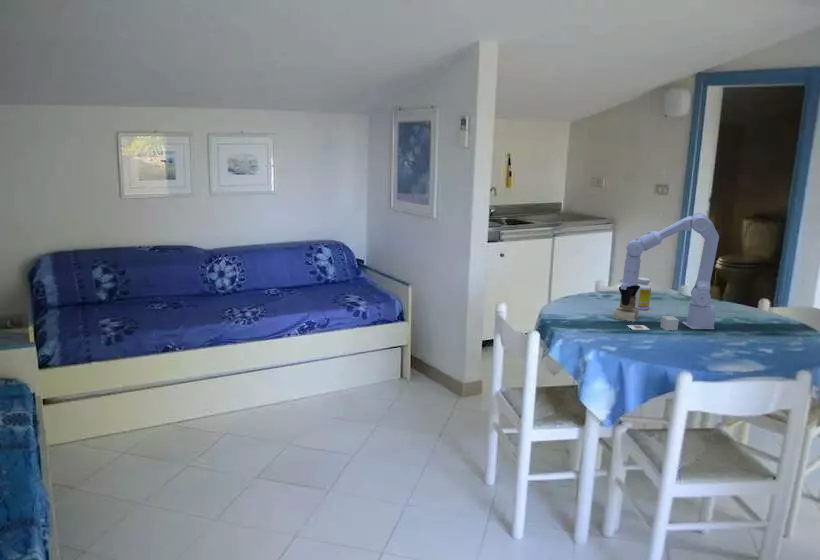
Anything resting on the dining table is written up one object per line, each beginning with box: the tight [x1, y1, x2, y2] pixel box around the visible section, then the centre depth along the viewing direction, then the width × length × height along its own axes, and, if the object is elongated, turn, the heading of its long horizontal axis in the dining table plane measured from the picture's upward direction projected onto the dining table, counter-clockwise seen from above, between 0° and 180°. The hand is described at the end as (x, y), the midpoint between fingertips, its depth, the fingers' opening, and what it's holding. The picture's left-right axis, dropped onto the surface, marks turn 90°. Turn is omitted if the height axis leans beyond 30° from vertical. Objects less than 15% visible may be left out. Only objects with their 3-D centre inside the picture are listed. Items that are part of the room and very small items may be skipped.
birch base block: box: [612, 305, 640, 323], centre depth 265 cm, size 8×8×4 cm
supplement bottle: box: [634, 277, 652, 311], centre depth 279 cm, size 7×7×13 cm
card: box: [626, 324, 650, 331], centre depth 253 cm, size 7×5×1 cm
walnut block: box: [619, 296, 636, 310], centre depth 264 cm, size 4×4×4 cm
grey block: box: [659, 315, 680, 332], centre depth 253 cm, size 4×4×4 cm
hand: (627, 303), depth 264 cm, fingers open, 4 cm apart
